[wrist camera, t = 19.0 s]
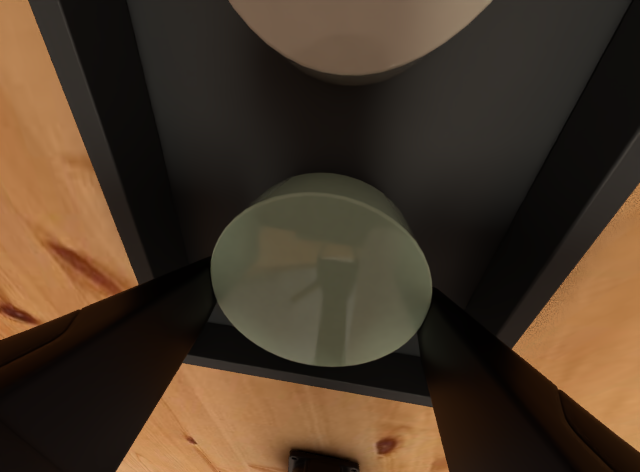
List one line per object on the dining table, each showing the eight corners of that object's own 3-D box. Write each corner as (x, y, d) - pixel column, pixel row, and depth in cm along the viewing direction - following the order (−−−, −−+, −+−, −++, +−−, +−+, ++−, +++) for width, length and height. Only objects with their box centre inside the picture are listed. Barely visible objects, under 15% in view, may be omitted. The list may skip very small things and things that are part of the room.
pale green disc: (390, 330, 10) (399, 381, 8) (246, 307, 11) (222, 351, 9) (440, 184, 7) (474, 211, 5) (232, 161, 7) (189, 177, 5)
